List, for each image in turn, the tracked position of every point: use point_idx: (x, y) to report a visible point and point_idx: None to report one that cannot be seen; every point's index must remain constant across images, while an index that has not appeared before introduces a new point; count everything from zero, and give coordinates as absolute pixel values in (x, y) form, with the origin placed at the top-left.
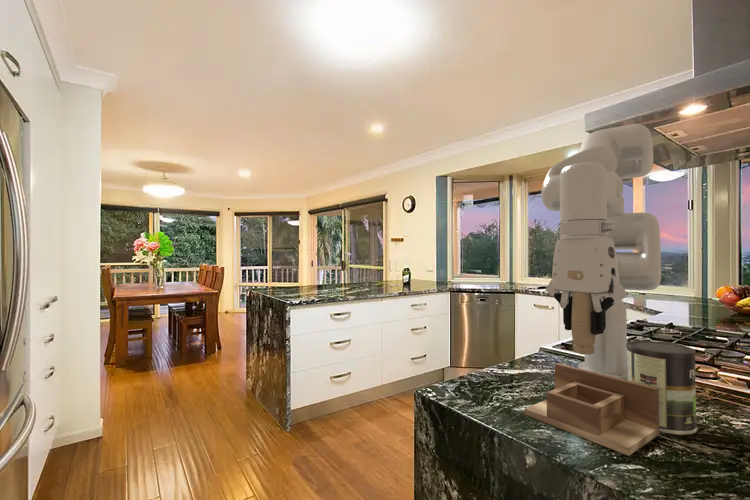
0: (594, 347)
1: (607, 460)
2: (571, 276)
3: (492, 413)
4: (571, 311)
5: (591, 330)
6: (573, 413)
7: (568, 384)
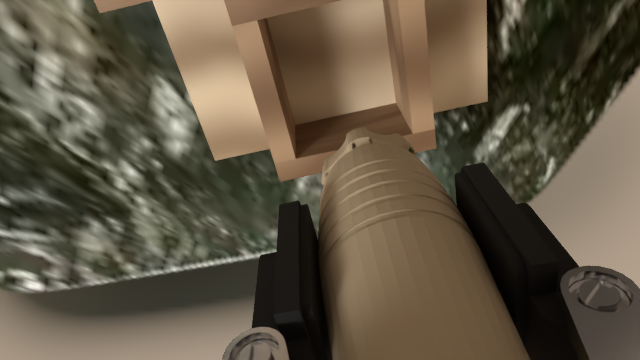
0: (415, 151)
1: (463, 150)
2: None
3: (187, 216)
4: (330, 354)
5: None
6: None
7: (242, 52)
